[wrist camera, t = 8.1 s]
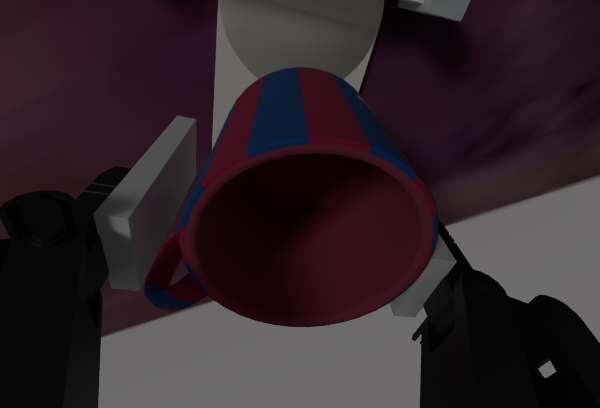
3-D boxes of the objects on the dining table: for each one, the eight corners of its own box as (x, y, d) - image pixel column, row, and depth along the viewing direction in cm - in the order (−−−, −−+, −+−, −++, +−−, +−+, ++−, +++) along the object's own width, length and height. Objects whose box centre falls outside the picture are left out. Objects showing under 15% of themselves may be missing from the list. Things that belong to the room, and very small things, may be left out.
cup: (389, 178, 14) (453, 293, 9) (214, 242, 16) (178, 368, 11) (348, 34, 11) (413, 81, 5) (129, 139, 13) (10, 252, 7)
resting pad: (225, -135, 13) (224, -137, 13) (410, -76, 15) (412, -77, 14) (209, 212, 25) (209, 214, 24) (314, 226, 26) (314, 229, 26)
